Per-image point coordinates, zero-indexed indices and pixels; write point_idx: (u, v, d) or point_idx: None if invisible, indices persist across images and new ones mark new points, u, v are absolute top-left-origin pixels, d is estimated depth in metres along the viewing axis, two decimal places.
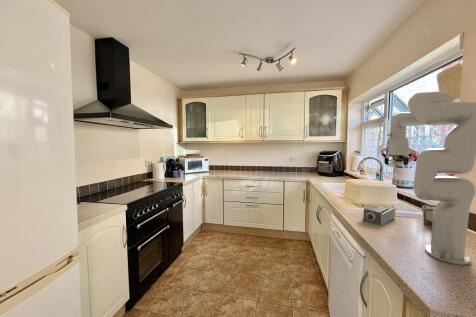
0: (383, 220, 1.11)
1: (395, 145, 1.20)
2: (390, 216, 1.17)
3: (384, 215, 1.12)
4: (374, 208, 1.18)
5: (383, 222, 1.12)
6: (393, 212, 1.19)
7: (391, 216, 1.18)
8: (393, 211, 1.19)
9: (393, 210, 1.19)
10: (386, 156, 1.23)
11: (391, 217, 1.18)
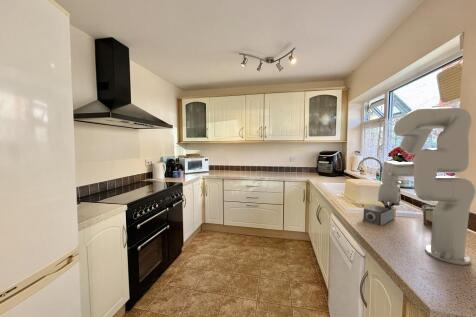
0: (383, 220, 1.11)
1: None
2: (390, 216, 1.17)
3: (384, 215, 1.12)
4: (374, 208, 1.18)
5: (383, 222, 1.12)
6: (393, 212, 1.19)
7: (391, 216, 1.18)
8: (393, 211, 1.19)
9: (393, 210, 1.19)
10: None
11: (391, 217, 1.18)
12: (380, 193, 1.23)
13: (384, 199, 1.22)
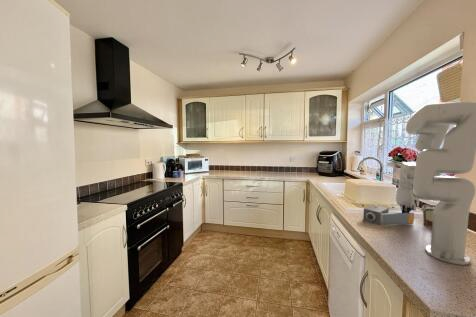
0: (384, 221, 1.11)
1: None
2: (401, 220, 1.11)
3: (386, 216, 1.11)
4: (374, 208, 1.18)
5: (384, 223, 1.11)
6: (408, 217, 1.12)
7: (404, 220, 1.12)
8: (409, 216, 1.12)
9: (408, 215, 1.11)
10: None
11: (404, 221, 1.12)
12: (397, 195, 1.17)
13: (400, 202, 1.15)
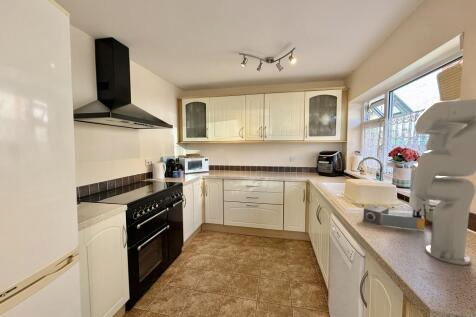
0: (384, 221, 1.10)
1: None
2: (407, 223, 1.06)
3: (387, 217, 1.09)
4: (374, 208, 1.18)
5: (384, 223, 1.10)
6: (417, 222, 1.05)
7: (410, 225, 1.06)
8: (418, 221, 1.05)
9: (417, 220, 1.05)
10: None
11: (411, 226, 1.06)
12: (409, 199, 1.11)
13: (411, 206, 1.09)
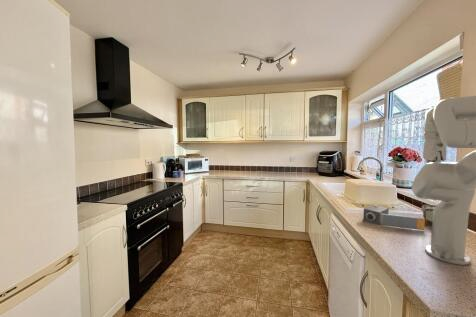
0: (384, 221, 1.10)
1: None
2: (407, 223, 1.06)
3: (387, 217, 1.09)
4: (374, 208, 1.18)
5: (384, 223, 1.10)
6: (417, 222, 1.05)
7: (410, 225, 1.06)
8: (418, 221, 1.05)
9: (417, 220, 1.05)
10: None
11: (411, 226, 1.06)
12: (423, 150, 1.02)
13: (425, 157, 1.00)
